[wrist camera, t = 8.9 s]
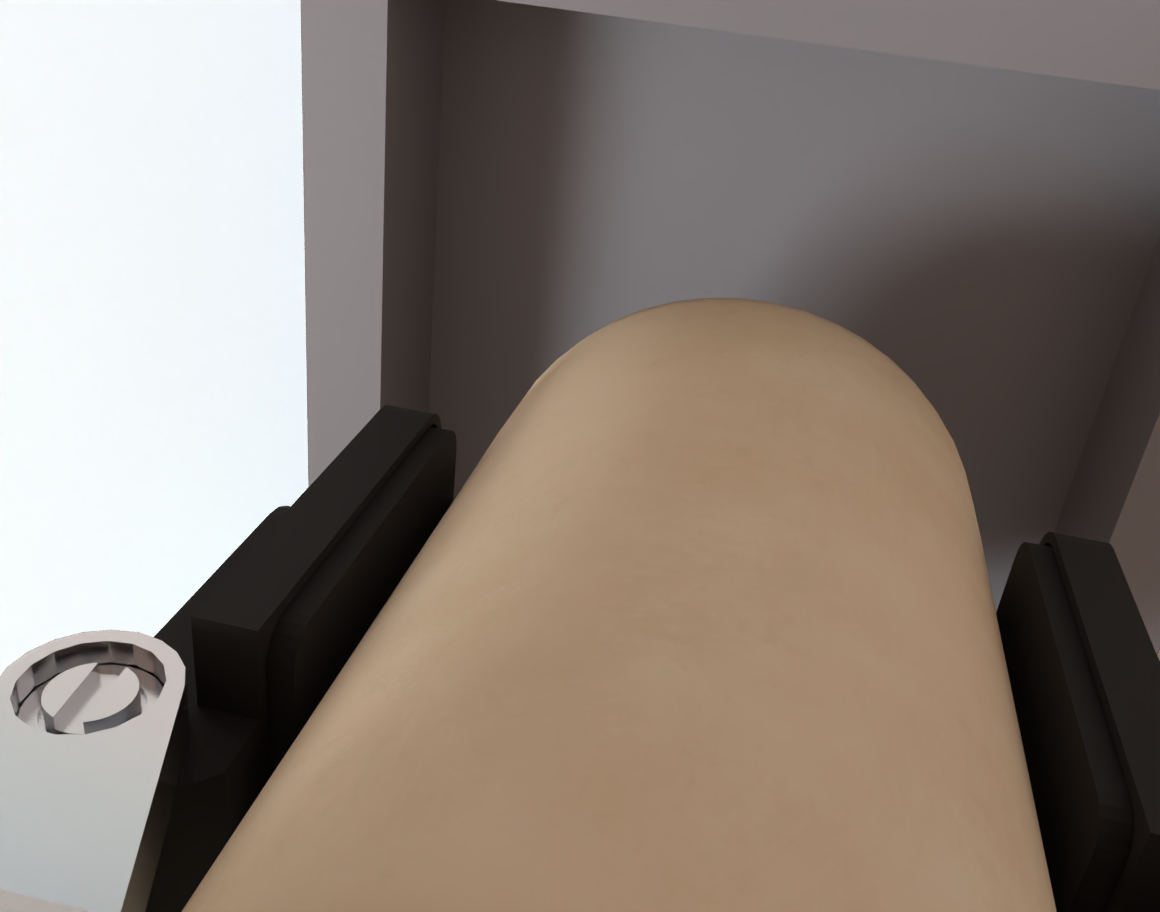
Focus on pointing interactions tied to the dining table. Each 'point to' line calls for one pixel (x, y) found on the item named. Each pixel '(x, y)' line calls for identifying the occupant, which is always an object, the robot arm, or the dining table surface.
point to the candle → (674, 659)
